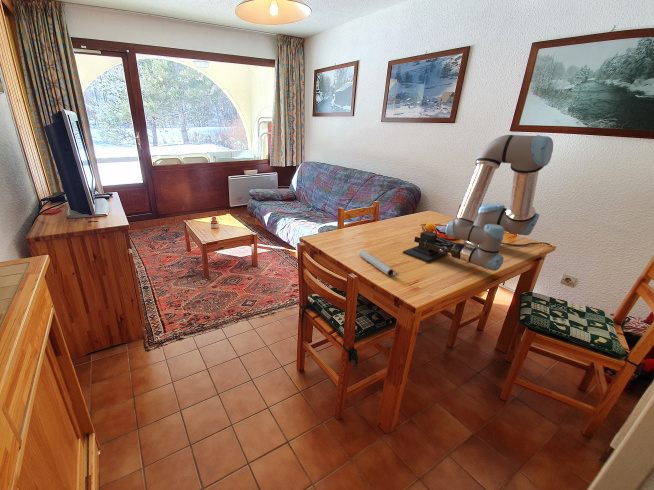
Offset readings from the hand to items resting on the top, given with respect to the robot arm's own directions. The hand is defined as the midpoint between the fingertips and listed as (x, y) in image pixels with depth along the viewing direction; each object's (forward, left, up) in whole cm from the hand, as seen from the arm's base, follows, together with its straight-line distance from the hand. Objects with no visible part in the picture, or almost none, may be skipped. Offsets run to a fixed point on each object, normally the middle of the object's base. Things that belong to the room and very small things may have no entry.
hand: (418, 237), depth 162 cm
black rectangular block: (-3, +4, -6) cm, 8 cm away
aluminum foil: (+25, +19, -7) cm, 32 cm away
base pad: (-3, +4, -7) cm, 9 cm away
